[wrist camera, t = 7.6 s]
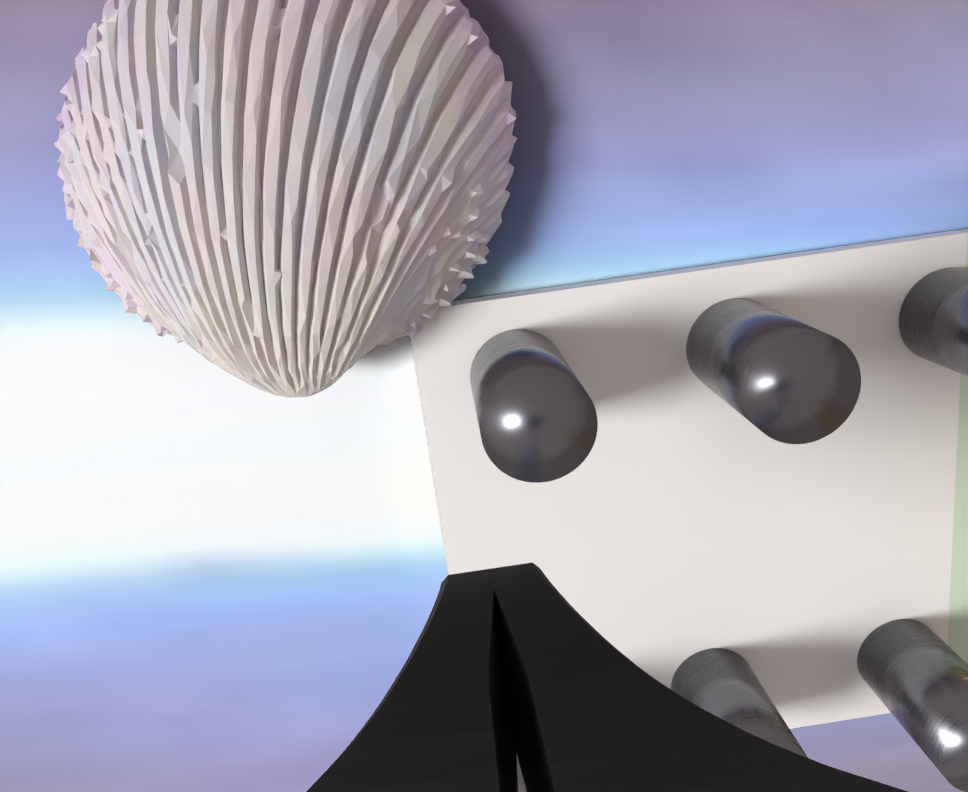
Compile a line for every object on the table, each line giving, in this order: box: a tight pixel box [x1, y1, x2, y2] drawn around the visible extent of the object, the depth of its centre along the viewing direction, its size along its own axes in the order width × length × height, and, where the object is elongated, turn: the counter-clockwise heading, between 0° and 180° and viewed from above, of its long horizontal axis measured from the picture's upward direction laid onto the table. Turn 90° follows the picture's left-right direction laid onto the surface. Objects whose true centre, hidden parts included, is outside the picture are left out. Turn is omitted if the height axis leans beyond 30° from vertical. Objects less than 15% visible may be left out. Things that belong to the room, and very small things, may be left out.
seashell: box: [54, 0, 518, 397], centre depth 17 cm, size 10×6×10 cm
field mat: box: [411, 228, 968, 729], centre depth 22 cm, size 14×20×1 cm
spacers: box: [470, 267, 968, 792], centre depth 20 cm, size 12×14×4 cm
